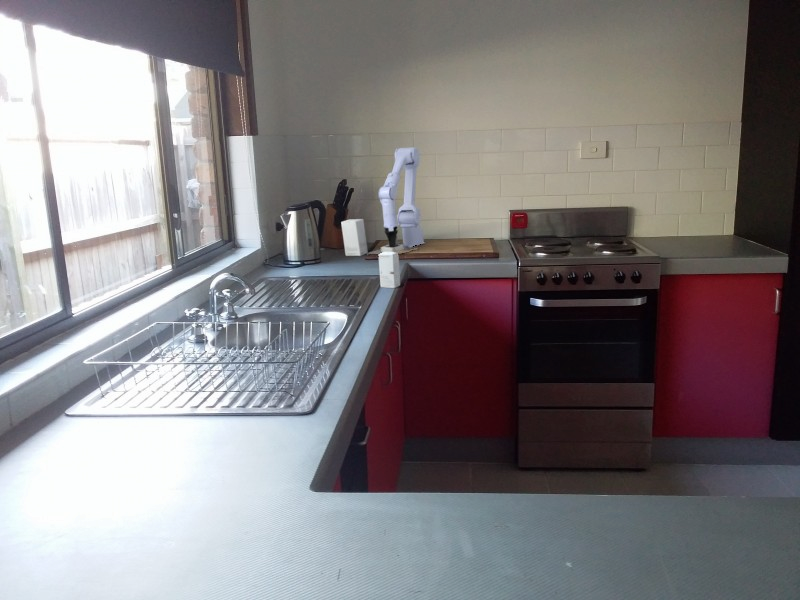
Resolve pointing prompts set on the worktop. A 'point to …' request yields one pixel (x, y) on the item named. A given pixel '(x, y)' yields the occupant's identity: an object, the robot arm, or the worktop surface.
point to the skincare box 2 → (389, 269)
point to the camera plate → (392, 248)
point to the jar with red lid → (396, 242)
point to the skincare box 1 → (354, 237)
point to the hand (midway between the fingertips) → (392, 245)
